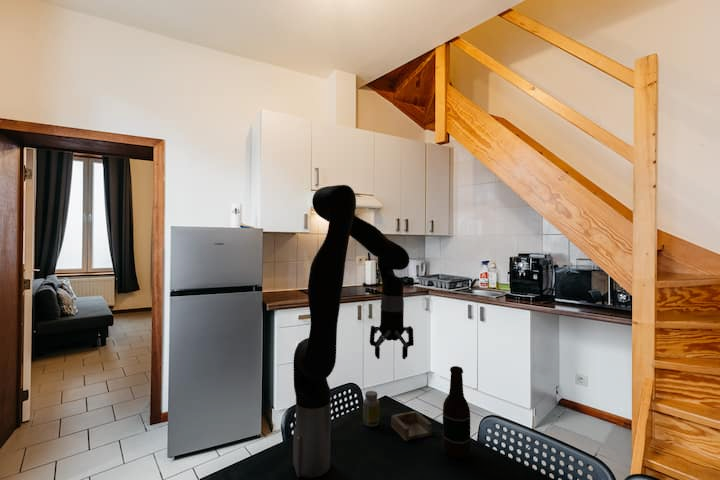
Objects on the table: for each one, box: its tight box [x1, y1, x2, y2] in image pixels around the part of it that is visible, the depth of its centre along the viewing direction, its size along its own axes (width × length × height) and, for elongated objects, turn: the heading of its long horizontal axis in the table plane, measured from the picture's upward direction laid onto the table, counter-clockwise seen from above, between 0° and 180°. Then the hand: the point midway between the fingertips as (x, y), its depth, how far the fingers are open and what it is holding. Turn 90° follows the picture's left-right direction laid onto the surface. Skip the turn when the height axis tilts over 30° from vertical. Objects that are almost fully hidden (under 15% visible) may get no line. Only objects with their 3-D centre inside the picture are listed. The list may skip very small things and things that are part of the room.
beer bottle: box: [442, 365, 471, 460], centre depth 100 cm, size 8×8×24 cm
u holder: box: [390, 410, 433, 442], centre depth 112 cm, size 9×9×4 cm
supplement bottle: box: [362, 390, 380, 427], centre depth 116 cm, size 5×5×10 cm
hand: (391, 358), depth 115 cm, fingers open, 8 cm apart
